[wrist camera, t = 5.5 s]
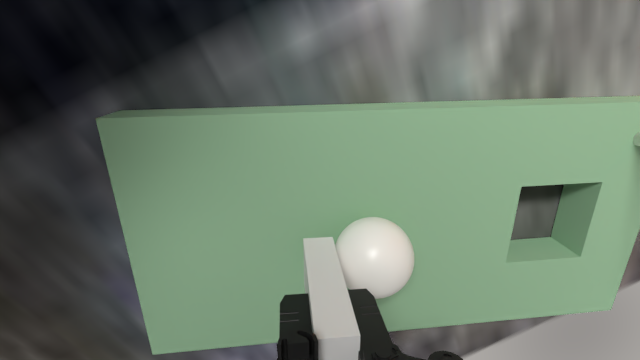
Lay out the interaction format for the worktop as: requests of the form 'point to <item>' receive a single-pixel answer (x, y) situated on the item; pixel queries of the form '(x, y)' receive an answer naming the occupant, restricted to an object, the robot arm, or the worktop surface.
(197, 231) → the putting deck
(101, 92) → the worktop surface
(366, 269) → the ball
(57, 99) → the worktop surface
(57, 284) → the worktop surface
